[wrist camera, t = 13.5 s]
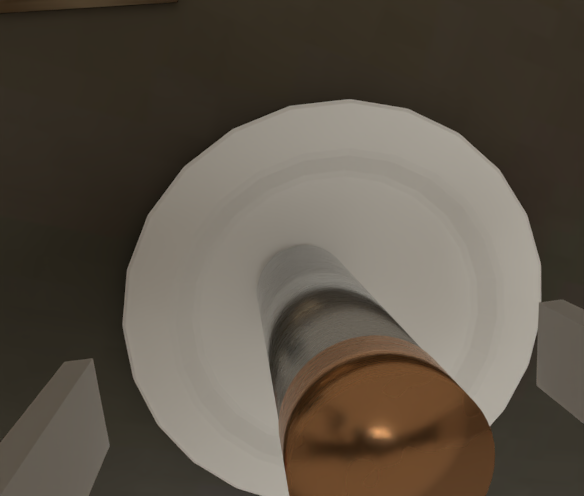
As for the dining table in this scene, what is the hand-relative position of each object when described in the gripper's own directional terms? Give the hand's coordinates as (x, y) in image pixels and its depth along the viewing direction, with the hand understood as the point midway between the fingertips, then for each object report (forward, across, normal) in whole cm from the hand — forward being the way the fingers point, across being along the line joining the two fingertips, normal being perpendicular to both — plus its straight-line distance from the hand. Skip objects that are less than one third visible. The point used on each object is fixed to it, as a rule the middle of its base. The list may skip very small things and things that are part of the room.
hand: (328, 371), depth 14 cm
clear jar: (+9, 0, 0) cm, 9 cm away
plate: (+11, +2, -2) cm, 11 cm away
